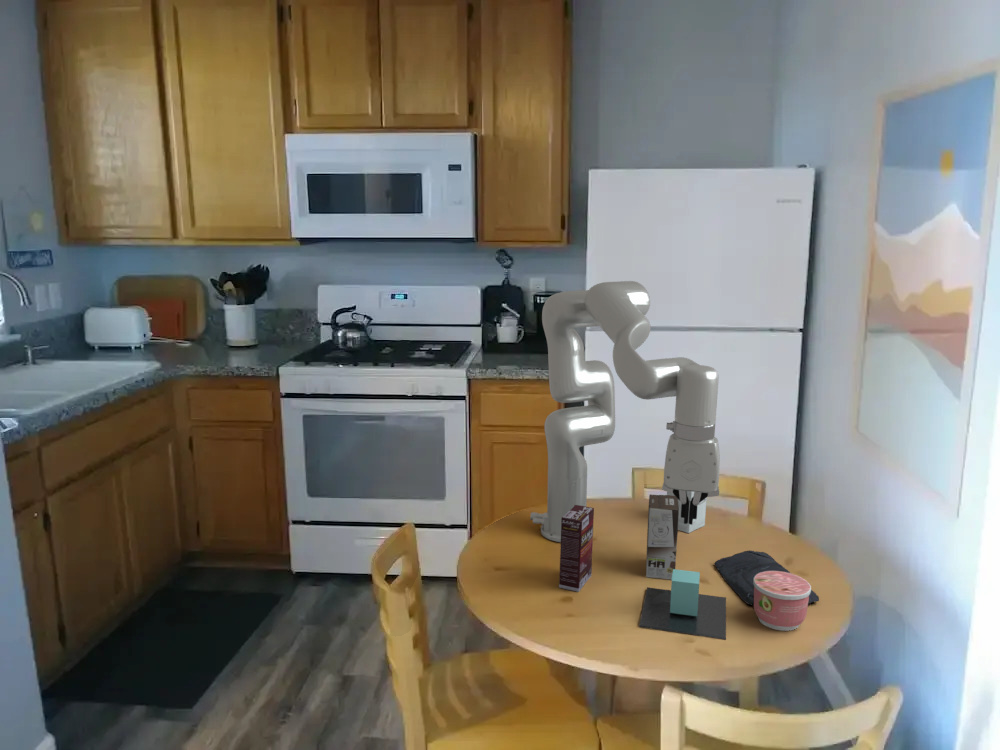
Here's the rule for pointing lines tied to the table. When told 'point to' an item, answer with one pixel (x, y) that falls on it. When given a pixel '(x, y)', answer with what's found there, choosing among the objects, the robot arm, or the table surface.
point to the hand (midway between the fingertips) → (688, 521)
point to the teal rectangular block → (684, 592)
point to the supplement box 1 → (576, 548)
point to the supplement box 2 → (696, 522)
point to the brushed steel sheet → (704, 624)
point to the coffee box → (662, 536)
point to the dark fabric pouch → (749, 572)
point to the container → (781, 599)
